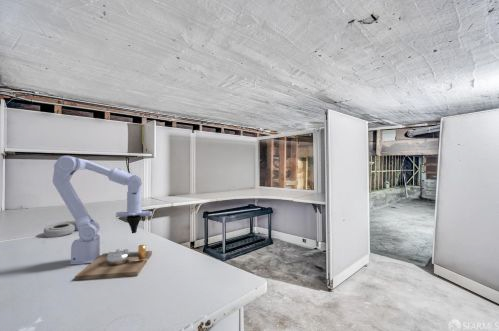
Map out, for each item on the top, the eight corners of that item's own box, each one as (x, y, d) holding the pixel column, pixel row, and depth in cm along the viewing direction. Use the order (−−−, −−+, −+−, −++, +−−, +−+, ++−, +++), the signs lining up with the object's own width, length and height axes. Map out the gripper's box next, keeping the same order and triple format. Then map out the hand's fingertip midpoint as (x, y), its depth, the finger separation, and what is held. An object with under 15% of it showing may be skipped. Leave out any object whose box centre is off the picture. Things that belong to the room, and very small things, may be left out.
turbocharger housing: (36, 240, 134) (63, 239, 134) (35, 228, 133) (62, 228, 133) (60, 230, 151) (84, 229, 150) (59, 219, 150) (83, 219, 150)
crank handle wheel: (102, 265, 90) (102, 250, 90) (113, 257, 98) (113, 243, 98) (141, 264, 91) (141, 249, 91) (149, 256, 99) (149, 242, 99)
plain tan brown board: (74, 280, 82) (75, 275, 82) (103, 257, 103) (103, 253, 103) (140, 275, 85) (140, 271, 85) (154, 253, 107) (154, 250, 107)
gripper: (113, 204, 102) (113, 235, 102) (149, 203, 105) (149, 234, 105) (119, 201, 109) (119, 231, 109) (152, 200, 112) (152, 230, 112)
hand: (134, 232), depth 107 cm, fingers closed
